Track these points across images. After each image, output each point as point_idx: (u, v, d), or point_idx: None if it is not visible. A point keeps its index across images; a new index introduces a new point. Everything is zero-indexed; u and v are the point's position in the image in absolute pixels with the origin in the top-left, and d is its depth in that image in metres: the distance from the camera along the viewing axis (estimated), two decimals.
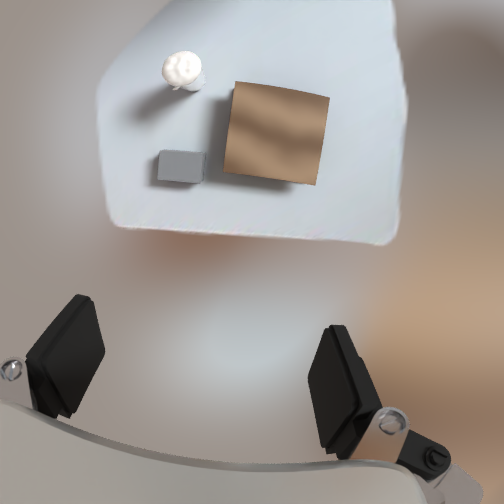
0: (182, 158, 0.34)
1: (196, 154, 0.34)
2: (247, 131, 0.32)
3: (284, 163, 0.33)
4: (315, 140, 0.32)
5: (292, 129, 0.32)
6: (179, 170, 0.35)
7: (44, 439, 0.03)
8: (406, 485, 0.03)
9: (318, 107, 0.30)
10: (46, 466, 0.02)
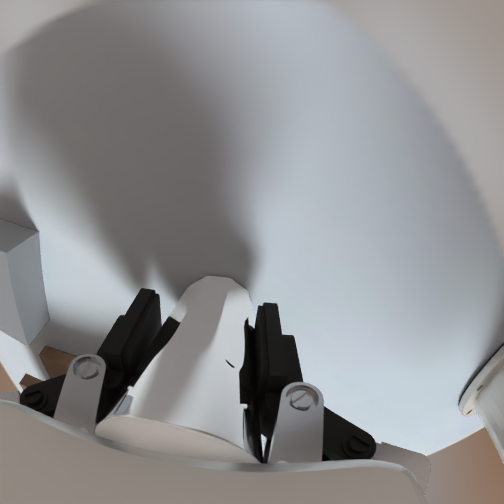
0: (7, 305, 0.10)
1: (23, 334, 0.11)
2: None
3: None
4: None
5: None
6: None
7: (44, 439, 0.03)
8: (406, 485, 0.03)
9: None
10: (46, 466, 0.02)
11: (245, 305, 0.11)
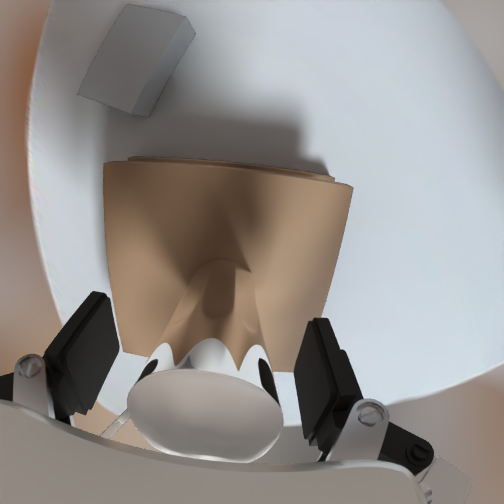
0: (140, 64, 0.11)
1: (135, 98, 0.11)
2: (209, 218, 0.13)
3: (145, 302, 0.14)
4: None
5: None
6: (119, 54, 0.10)
7: (44, 439, 0.03)
8: (406, 485, 0.03)
9: (280, 358, 0.16)
10: (46, 466, 0.02)
11: (251, 284, 0.12)
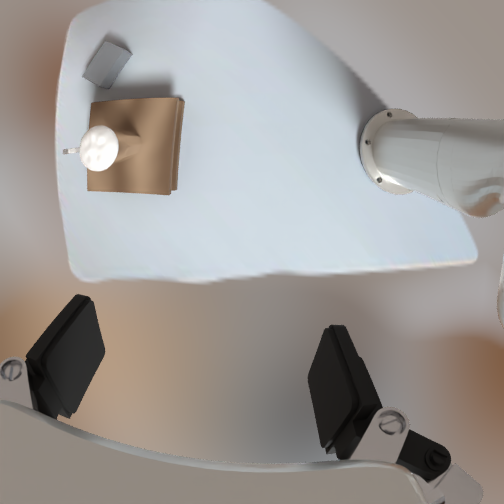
0: (106, 67, 0.26)
1: (102, 80, 0.27)
2: (125, 117, 0.28)
3: None
4: (124, 185, 0.31)
5: (130, 160, 0.30)
6: (99, 62, 0.25)
7: (44, 439, 0.03)
8: (406, 485, 0.03)
9: (156, 184, 0.31)
10: (46, 466, 0.02)
11: (135, 135, 0.28)
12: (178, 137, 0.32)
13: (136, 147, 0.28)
